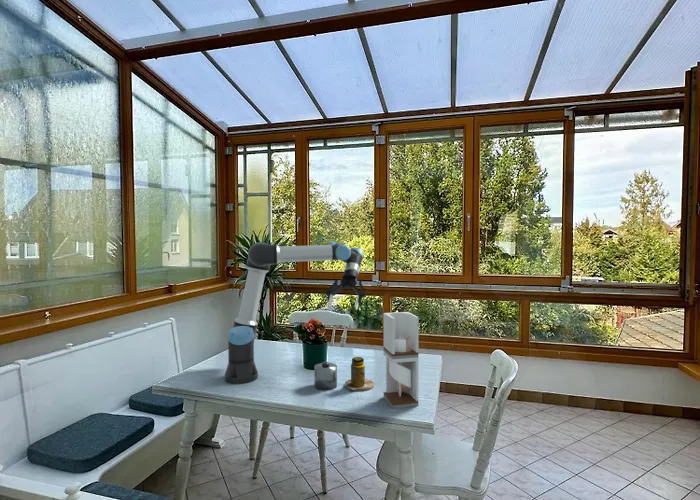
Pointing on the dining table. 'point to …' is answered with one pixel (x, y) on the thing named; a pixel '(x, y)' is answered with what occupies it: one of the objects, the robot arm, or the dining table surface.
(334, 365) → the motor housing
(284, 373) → the dining table surface
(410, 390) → the display case
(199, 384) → the dining table surface
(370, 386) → the tan plate
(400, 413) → the dining table surface
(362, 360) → the condiment
